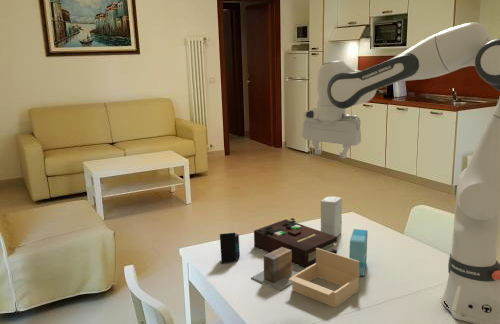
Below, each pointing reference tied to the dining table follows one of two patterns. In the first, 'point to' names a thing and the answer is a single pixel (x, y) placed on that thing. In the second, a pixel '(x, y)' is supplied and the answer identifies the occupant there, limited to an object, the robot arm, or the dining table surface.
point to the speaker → (229, 247)
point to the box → (277, 264)
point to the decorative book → (294, 241)
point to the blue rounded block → (359, 248)
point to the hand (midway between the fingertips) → (330, 155)
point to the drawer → (328, 278)
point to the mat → (279, 284)
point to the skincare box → (331, 215)
